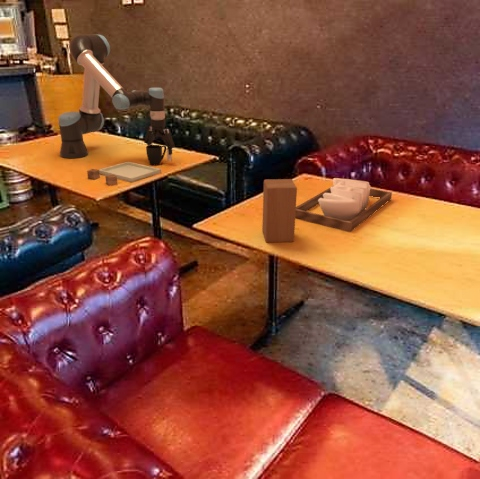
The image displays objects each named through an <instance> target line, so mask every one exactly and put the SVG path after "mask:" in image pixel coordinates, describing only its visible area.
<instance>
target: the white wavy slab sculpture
mask: <svg viewBox="0 0 480 479" xmlns="http://www.w3.org/2000/svg"><path fill="white" fill-rule="evenodd" d="M332 184H333V185H332V186H333V187H332V186H330V187H329V188H330V189H331V193H324V194H323V198H320V199H319V200H318V202H319V204H318V205H319V206H320V209H321V211H322V215H324V216H328V217H332V218H336V219H341V220H345V221H351V220H352V219H353V218H355V217H356V216H357V215H359V214H360V213H361V212H363V211H364V210H366V209H367V208H368V206H369V199H370V197H369V194H370V188H371V185H370V182H369V181H365V180H359V179H358V180H356V179H352V178H351V179H349V178H337V177H334V178H332ZM367 205H368V206H367ZM365 208H366V209H365Z"/></svg>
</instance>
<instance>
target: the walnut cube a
mask: <svg viewBox="0 0 480 479" xmlns="http://www.w3.org/2000/svg"><path fill="white" fill-rule="evenodd" d="M86 174H87V179H88V180H97V179H100V178H101V174H99V169H96V168H95V169H94V168H90V169H89V170H87V171H86Z"/></svg>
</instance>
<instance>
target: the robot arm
mask: <svg viewBox="0 0 480 479" xmlns="http://www.w3.org/2000/svg"><path fill="white" fill-rule="evenodd" d="M110 52H111V46H110V44H109V41H108V40H107V38H106V37H105V36H104V35H103V34H97V33H91V34H77V35H75V36H74V37H72V38H71V40H70V41H69V53H70V56H72V59H73V60H74V61H75V62H76V63H77V65H79V66H82V67H83V68H84V71H83V85H82V86H83V89H82V105H81V106H79V109H78V111H69V112H68V111H67V112H63V113H61V114H60V115H59V116H58V126H59V132H60V139H61V145H60V150H59V156H60V157H61V158H64V159H79V158H85V157H87V156H88V155H89V150H88V148H87V146H86V143H85V141H84V135H86V134H91V133H96V132H98V131H100V130H101V129H103V127H104V124H105V118H104V117H103V113H102V112H101V109H100V108H99V99H100V90H101V89H100V87H102V89H103V90H104V91H105V92H106V93H107V94H108V95H109V96H110V98H111V99H112V100H111V102H112V104H113V107H114V108H115V109H116V110H122V111H123V110H127V109H131V108H137V107H149V111H150V112H149V114H150V126H147V132H146V134H145V139H144V141H143V142H144V144H145V145H147V146H149V145H154V144H153V142H154V140H155V138H157V137H158V138H160V139H161V140H162V141H163V143H164V145H165V146H166V157H167V158H166V160H167V162H170V161H172V160H173V159H172V157H173V156H172V155H173V149H174V148H176V146H175V143H174V140H173V137H172V135H171V130H170V129H169V128H167V129H166V128H165V127H166V119H165V118H166V111H165V94H164V89H163V88H162V87H150V88H148V90H139V89H137V90H135V89H134V90H131V92H130V91H129V92H127V90H125V88H124V87H123V86H122V85H121V84H120V83H119V82H118V81H117V80H116V79H115V78H114V77H113V75H112V74H111V73H110V72H109V71H108V69H106V68H105V67H104V66H103V65H104V64H105V59H106V58H107V57H108V56H109V55H110Z"/></svg>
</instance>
